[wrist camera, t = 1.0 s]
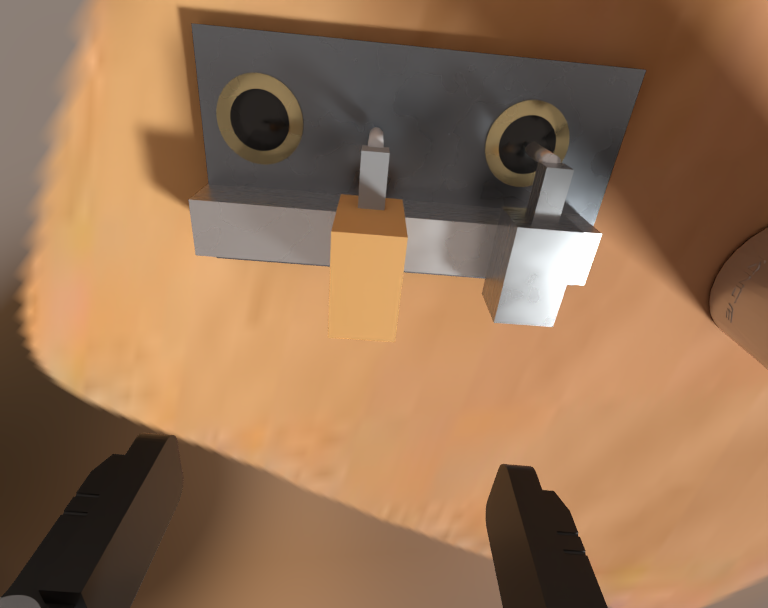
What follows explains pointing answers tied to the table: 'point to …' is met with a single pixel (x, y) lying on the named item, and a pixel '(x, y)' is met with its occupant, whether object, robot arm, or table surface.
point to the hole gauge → (410, 156)
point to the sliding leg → (367, 254)
